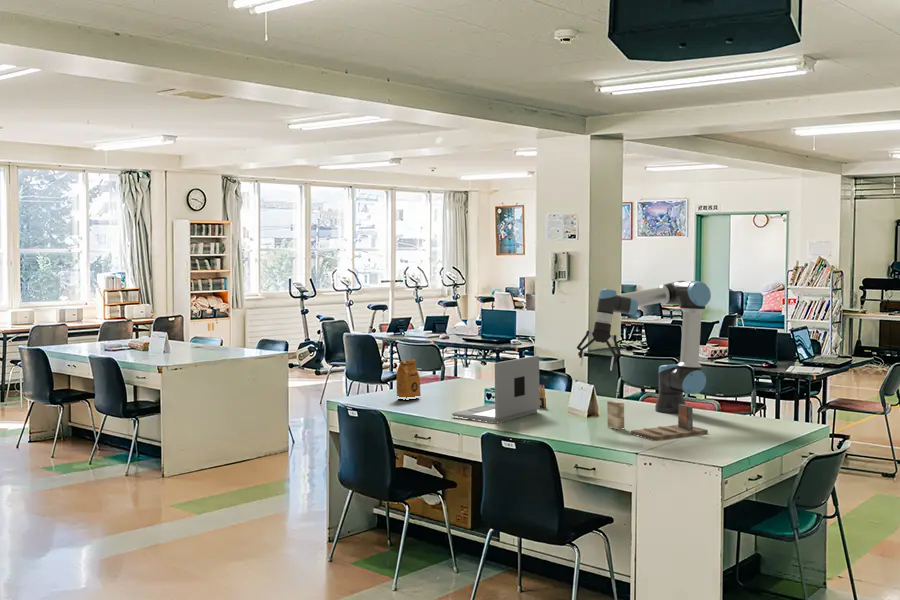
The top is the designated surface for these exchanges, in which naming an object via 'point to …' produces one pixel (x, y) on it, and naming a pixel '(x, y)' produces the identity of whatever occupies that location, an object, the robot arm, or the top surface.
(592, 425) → the top surface
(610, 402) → the maple finger
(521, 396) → the laptop
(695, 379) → the robot arm
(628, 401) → the top surface
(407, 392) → the coffee package
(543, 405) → the ammunition clip
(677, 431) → the rail
